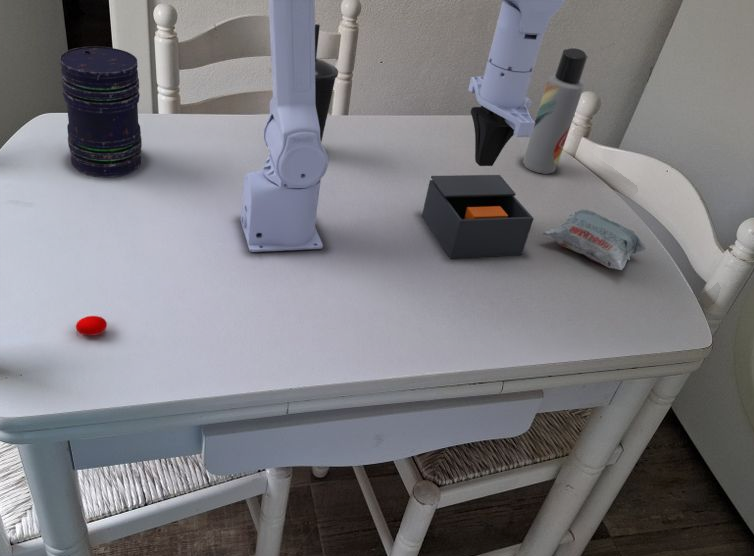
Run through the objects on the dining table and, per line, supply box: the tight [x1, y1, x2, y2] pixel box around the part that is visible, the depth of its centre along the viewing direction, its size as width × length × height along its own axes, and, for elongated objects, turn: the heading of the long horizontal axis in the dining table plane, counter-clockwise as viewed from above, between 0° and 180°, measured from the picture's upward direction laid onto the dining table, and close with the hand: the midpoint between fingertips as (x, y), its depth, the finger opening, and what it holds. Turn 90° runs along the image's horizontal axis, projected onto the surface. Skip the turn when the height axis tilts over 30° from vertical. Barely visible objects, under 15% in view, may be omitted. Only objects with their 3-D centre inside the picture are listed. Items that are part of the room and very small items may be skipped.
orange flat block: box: [464, 206, 508, 219], centre depth 96 cm, size 5×2×5 cm, turn 106°
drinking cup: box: [315, 23, 339, 143], centre depth 108 cm, size 8×8×20 cm
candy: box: [75, 315, 108, 336], centre depth 72 cm, size 3×2×2 cm, turn 103°
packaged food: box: [542, 209, 646, 271], centre depth 99 cm, size 9×12×5 cm
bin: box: [421, 179, 535, 260], centre depth 98 cm, size 11×11×6 cm
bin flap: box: [430, 174, 517, 197], centre depth 98 cm, size 5×11×1 cm, turn 106°
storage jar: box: [59, 46, 143, 178], centre depth 98 cm, size 10×10×15 cm
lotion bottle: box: [522, 47, 589, 175], centre depth 115 cm, size 6×6×20 cm
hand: (483, 163), depth 95 cm, fingers closed
